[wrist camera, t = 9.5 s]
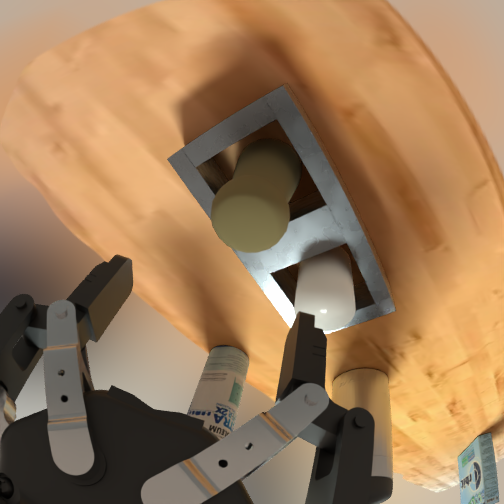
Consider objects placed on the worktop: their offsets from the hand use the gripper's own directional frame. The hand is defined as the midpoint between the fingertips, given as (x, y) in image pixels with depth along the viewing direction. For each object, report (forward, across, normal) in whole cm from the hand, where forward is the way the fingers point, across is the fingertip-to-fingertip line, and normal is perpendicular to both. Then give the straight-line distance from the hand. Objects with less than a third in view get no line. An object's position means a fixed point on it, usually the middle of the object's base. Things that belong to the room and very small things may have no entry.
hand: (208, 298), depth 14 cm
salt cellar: (+18, -8, +8) cm, 21 cm away
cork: (+18, 0, 0) cm, 18 cm away
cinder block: (+17, -4, +4) cm, 18 cm away
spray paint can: (+18, -1, +29) cm, 34 cm away
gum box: (+19, -79, +55) cm, 98 cm away
